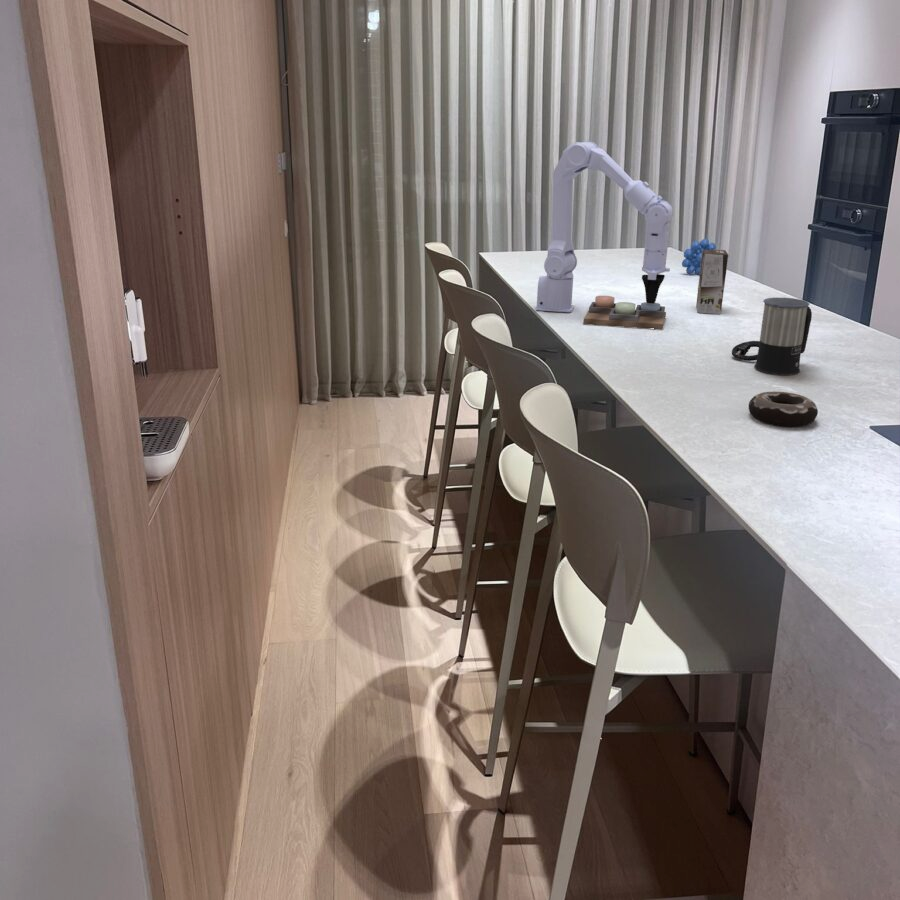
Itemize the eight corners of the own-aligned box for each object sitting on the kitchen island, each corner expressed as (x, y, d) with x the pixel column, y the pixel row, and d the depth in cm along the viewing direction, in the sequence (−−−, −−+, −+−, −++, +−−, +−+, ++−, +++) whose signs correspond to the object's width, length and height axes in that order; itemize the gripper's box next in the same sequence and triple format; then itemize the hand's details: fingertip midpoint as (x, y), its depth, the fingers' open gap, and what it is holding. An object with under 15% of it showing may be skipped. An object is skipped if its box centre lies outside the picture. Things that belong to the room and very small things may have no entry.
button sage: (614, 314, 228) (614, 305, 227) (615, 310, 232) (616, 301, 231) (633, 316, 226) (634, 306, 226) (635, 312, 231) (636, 302, 230)
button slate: (639, 314, 233) (640, 305, 232) (640, 310, 237) (641, 301, 236) (659, 315, 232) (660, 306, 231) (660, 311, 236) (661, 302, 235)
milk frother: (793, 378, 185) (804, 307, 180) (718, 366, 193) (726, 298, 187) (808, 363, 196) (819, 296, 191) (736, 353, 204) (744, 288, 199)
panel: (583, 324, 229) (584, 312, 228) (590, 312, 243) (591, 301, 242) (662, 329, 224) (663, 318, 223) (665, 317, 238) (666, 306, 237)
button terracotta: (593, 307, 235) (594, 298, 235) (595, 303, 240) (596, 295, 239) (612, 308, 234) (613, 299, 233) (614, 305, 239) (615, 296, 238)
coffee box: (721, 314, 242) (729, 254, 236) (697, 313, 243) (704, 253, 237) (719, 307, 250) (726, 249, 245) (695, 306, 252) (701, 248, 246)
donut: (799, 409, 166) (803, 388, 165) (826, 430, 156) (830, 408, 154) (738, 409, 166) (741, 388, 165) (761, 430, 155) (764, 408, 154)
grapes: (709, 272, 305) (714, 236, 300) (717, 276, 298) (721, 239, 294) (676, 272, 304) (680, 236, 299) (683, 276, 297) (687, 239, 293)
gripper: (670, 255, 221) (665, 309, 226) (672, 247, 234) (667, 298, 239) (641, 253, 223) (636, 307, 228) (645, 245, 236) (640, 296, 241)
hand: (650, 303), depth 234 cm, fingers closed
